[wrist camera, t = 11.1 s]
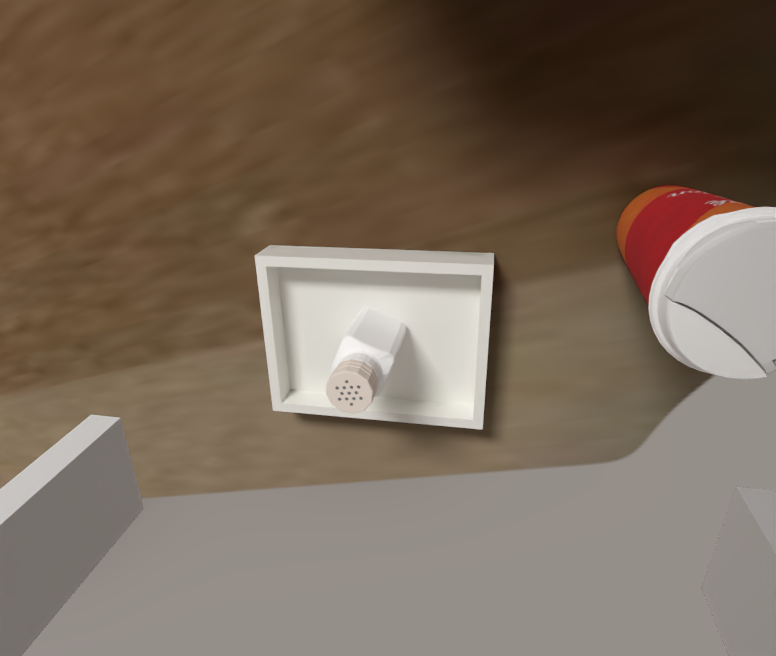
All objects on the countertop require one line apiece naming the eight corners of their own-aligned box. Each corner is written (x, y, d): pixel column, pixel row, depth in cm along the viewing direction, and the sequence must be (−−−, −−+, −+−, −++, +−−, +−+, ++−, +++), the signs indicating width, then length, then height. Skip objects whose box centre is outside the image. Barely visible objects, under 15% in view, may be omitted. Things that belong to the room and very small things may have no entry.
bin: (269, 245, 42) (254, 255, 40) (493, 253, 40) (493, 264, 37) (285, 392, 48) (273, 410, 45) (483, 409, 45) (482, 429, 42)
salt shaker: (347, 343, 44) (311, 404, 35) (363, 302, 42) (330, 356, 34) (391, 362, 44) (367, 428, 35) (409, 322, 42) (388, 381, 34)
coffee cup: (751, 240, 36) (905, 329, 23) (637, 306, 39) (712, 418, 26) (688, 138, 34) (814, 168, 21) (574, 215, 37) (619, 285, 24)
